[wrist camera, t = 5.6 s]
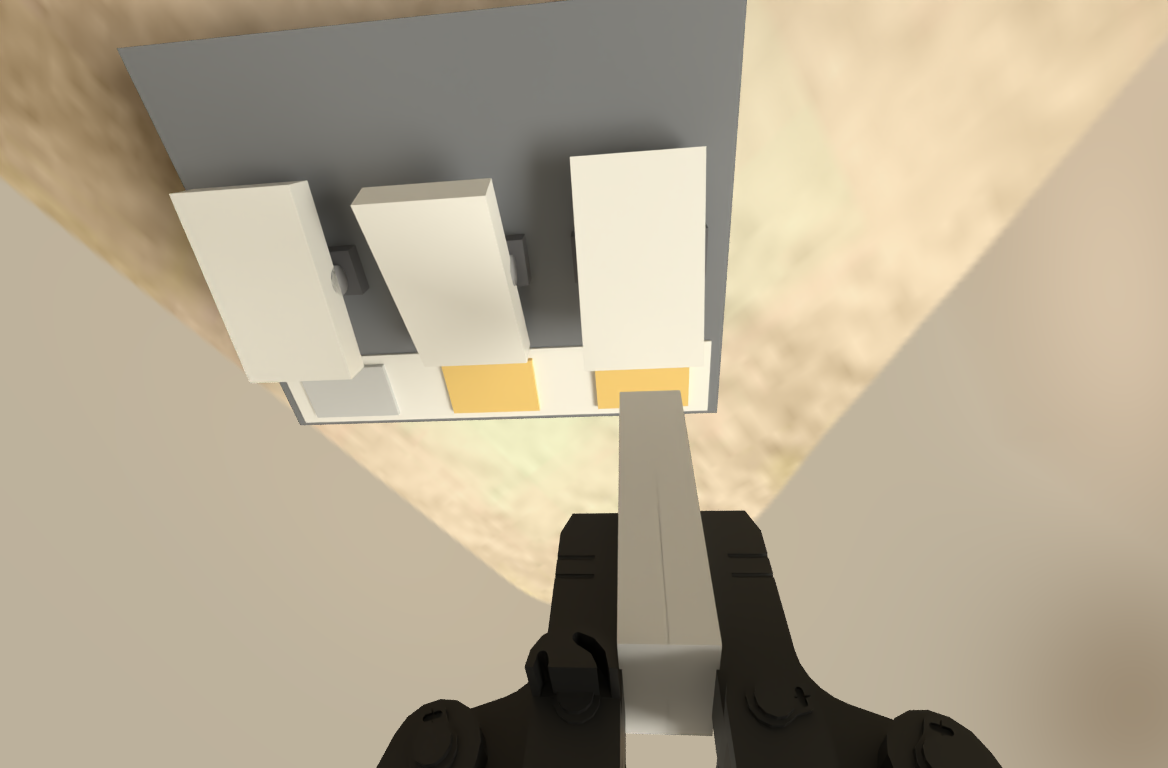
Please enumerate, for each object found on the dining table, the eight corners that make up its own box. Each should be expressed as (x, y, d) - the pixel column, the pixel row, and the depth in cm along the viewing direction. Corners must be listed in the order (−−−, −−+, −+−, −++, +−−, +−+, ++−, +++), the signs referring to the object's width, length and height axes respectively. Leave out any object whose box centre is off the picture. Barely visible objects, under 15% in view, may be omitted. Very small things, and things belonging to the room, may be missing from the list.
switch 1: (206, 186, 17) (168, 193, 16) (317, 177, 17) (288, 184, 15) (276, 363, 20) (249, 383, 19) (371, 359, 20) (351, 379, 18)
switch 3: (575, 160, 16) (569, 156, 15) (698, 150, 16) (706, 146, 14) (587, 357, 18) (584, 371, 17) (697, 352, 18) (703, 366, 17)
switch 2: (368, 177, 15) (350, 205, 14) (494, 167, 15) (485, 195, 14) (434, 337, 20) (424, 367, 19) (531, 332, 20) (527, 362, 19)
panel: (206, 45, 19) (99, 48, 15) (723, -9, 17) (752, -21, 13) (340, 375, 26) (293, 433, 22) (703, 361, 25) (719, 421, 21)
